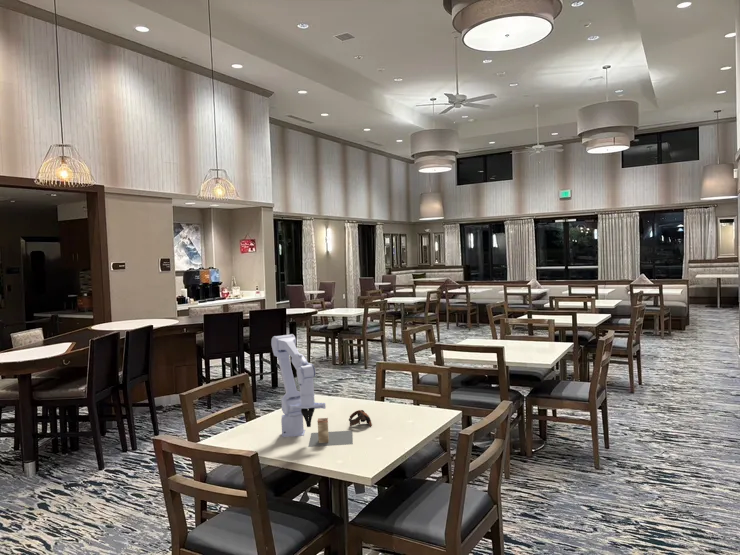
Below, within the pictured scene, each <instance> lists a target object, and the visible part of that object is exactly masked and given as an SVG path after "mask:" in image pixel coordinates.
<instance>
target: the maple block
mask: <svg viewBox="0 0 740 555" xmlns="http://www.w3.org/2000/svg"><path fill="white" fill-rule="evenodd" d="M316 422H317V433H318V439H319V443H326V442H329V433H328V432H329V418H328V417H320V418H317V421H316Z"/></svg>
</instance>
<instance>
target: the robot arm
mask: <svg viewBox="0 0 740 555" xmlns="http://www.w3.org/2000/svg"><path fill="white" fill-rule="evenodd" d="M270 343H271V344H270V345H271V348H272V349H271V350H272V353H273V356H274V357H277V361H278V364H279V365H278V366H279V368H280V374H281V377H282V382H283V383H282V384H283V386H284V391H285V394H284V395H283V396H282V397H281V399H280V402H281V411H282V413H283V414H281V422H280V423H281V437H282V438H286V437H287V438H288V437H290V438H291V437H302V436H303V437H304V436H305V432H306V429H305V428H304V421H305V423H306V424H305V425H306V427H307V428H311V426H312V419H313V416H314V412H315V410H316V409H318V410H319V409H326V407H327V405H326V402H316V401H315V387H314V386H315V384H314V379H315V377H316V374H317V372H316V368H315V365H314V364H313V363H311V362H308V360H307V359H306V357H305V356H304V354H303V353H300V352H299V350H298V347H297V339H296V336H295V335H294V334H293V333H290V334H283V335H274V336H272V338H271V342H270ZM290 357H291V359H290ZM290 360H291V361H290ZM291 363H292V365H293V367H294V368H295V370H296V377H297V381H298V384H299V390H298V389H297V386H296V381H295V377H294V374H293V370H292V365H291Z"/></svg>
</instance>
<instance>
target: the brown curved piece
mask: <svg viewBox="0 0 740 555" xmlns="http://www.w3.org/2000/svg"><path fill="white" fill-rule="evenodd" d="M356 416H357V417H356ZM354 417H355V418H354ZM348 421H349V426H350V427H352V426H356V425H358V424H359V425H361V423H365V422H366V424H367V423H368V424H367V425H369V427H370V426H373V424H372V420H371V417H370V416H369V414H367V413H366V411H365V410H363V409H359V410H356V411H354V412H353V413H352V414H350V415H349V418H348Z"/></svg>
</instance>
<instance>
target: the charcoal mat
mask: <svg viewBox="0 0 740 555" xmlns="http://www.w3.org/2000/svg"><path fill="white" fill-rule="evenodd" d="M328 433H329V442H326V443H319V439H318V432H311V434H310V437H309V443H308V446H307V447H308V448H313V447H330V446H344V445H348V446H349V445H353V439H354V438H353V436H354V435H353V430H340V431H339V430H337V431H328Z"/></svg>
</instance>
